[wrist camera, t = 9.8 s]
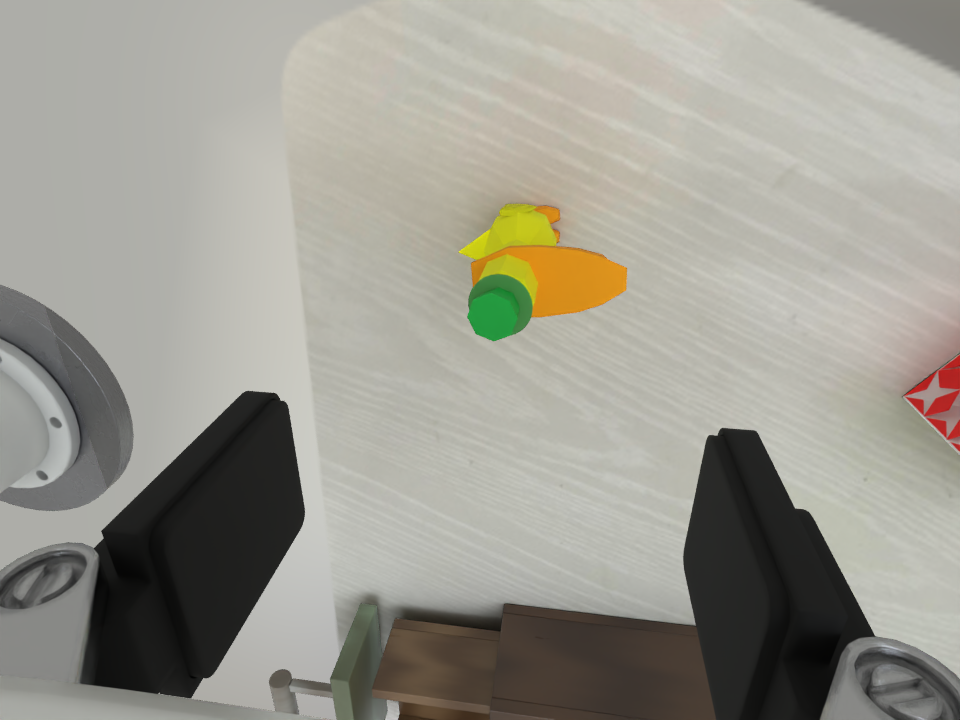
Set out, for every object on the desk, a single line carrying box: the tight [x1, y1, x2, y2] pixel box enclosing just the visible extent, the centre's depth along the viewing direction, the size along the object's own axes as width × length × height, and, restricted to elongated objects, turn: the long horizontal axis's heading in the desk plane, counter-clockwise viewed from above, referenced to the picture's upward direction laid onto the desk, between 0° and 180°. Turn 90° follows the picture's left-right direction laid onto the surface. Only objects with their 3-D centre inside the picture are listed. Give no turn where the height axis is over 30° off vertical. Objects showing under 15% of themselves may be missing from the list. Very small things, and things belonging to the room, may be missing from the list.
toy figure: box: [459, 204, 627, 341], centre depth 24 cm, size 7×4×12 cm, turn 94°
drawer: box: [269, 603, 500, 720], centre depth 41 cm, size 18×11×6 cm, turn 90°
